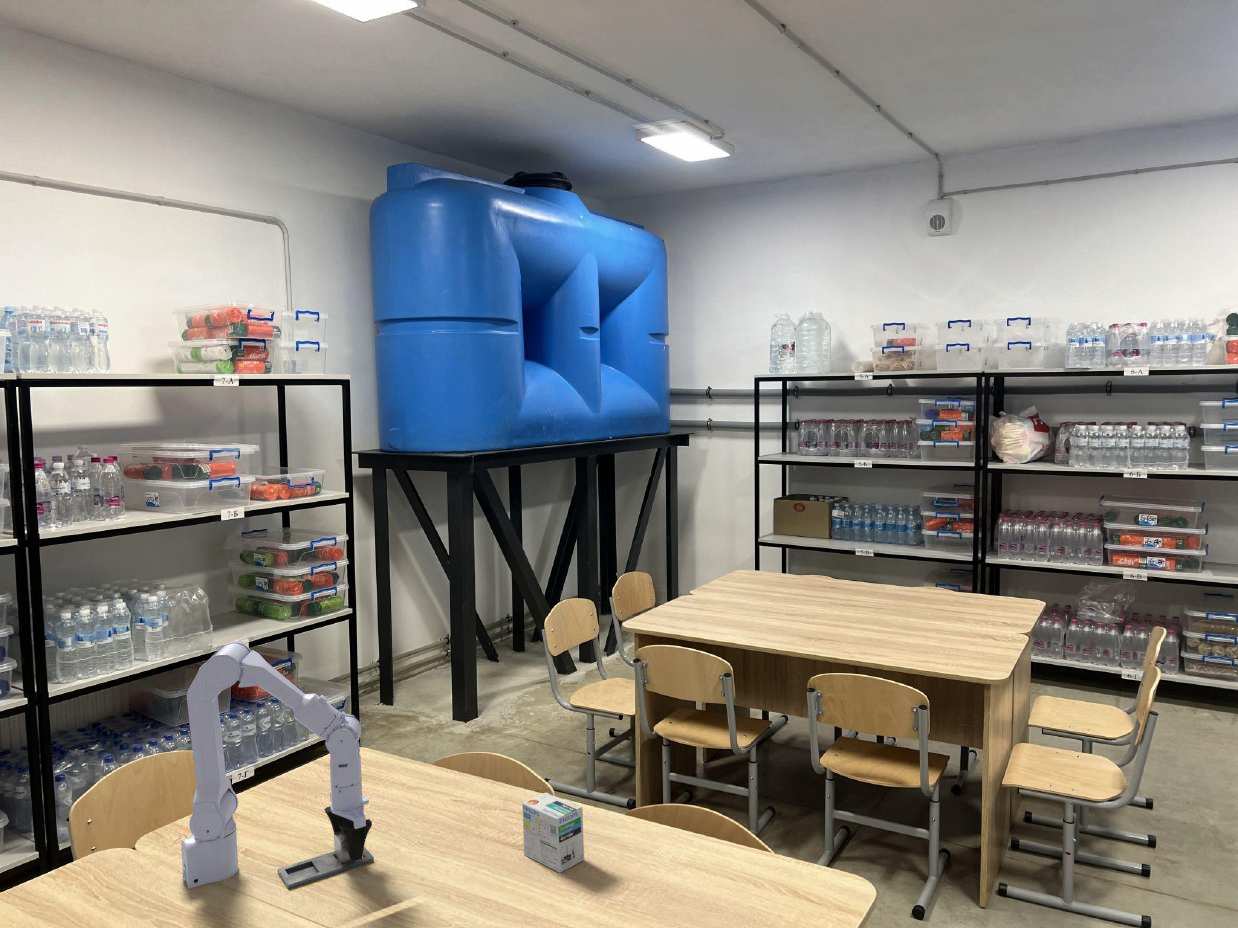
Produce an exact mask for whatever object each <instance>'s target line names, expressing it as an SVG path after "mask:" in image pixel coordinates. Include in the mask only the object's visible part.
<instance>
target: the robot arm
mask: <svg viewBox="0 0 1238 928" xmlns="http://www.w3.org/2000/svg"><path fill="white" fill-rule="evenodd" d="M237 681H238V682H239V684H238V686H237V687H238V688H248V687H249V688H250V687H258V688H260V689H262V690H263V691H265V692H266V693H268V694H269V695H271V696H272V697H274V698H276V699H277V700H279V701H280V702H281V703H283V704H284V705H286V706H288V707H289V708H290V709H292V710H293V717H294V720H296V721H297V723H300V724H301V725H302V726H304V727H305V728H306V729H308V730H309V731H311V732H312V733H313V734H315V735H316V736H317V737H319V738H320V739H321V740H324V741H325V742H324V744H325V747H326V749H327V751H328V752H329V777H330V781H329V782H330V792H329V797H330V799H329V800H330V805H329V806H327V807H325V808H324V810H323V811H324V813H325V814H326V816H327V818H328V819H329V822H330V824H331V828H332V831H333V834H334V833H337V832H340V831H342V832H343V834H344V837H345V839H346V843H347V848H348V853H349V857H350V859H351V860H355V859H358V858H361V857H362V854H363V850H364V847H365V843H366V839H367V836H368V835H369V832H370V830H371V828H372V827H373V821H372V820H370V818H367V819H366V815H365V811H364V810H365V805H368V804H369V803H370V800H369V798H368V797H367V796H363V781H362V780H363V779H362V758H361V753H360V752H361V748H360V742H359V740H360V738H361V735H362V726H361V722H360V721H359V720H358V719H357V718H356V716H355V715H354V714H348V713H346V712H345V711H339V710H338V709H336V707H334V706H333V705H331V704H330V703H328V700H327V699H328V698H327V697H326V696H325V695H323V694H321V695H318V694H317V693H304V692H303V691H302V690H301V689H300V688H298V687H297V686H296V685H295V684H293V683H292V682H291V681H290V680H289V679H288V678H286V677H285V676H284V675H283V674H282V673H280V672H279V671H278V670H277V669H276V668H274V667H273V666H272V665H271V664H270V663H268V662H267V661H266V660H265V658H264V657H263V656H262V655H261V654H260V653H259V652H257V651H255V650H254V649H252V650H251V649H250V648H249V646H248V645H247V644H245V643H243V642H240V641H231V642H228V643H226V644H224V645H223V646H222V647H221V648H219V649H218V650H216V652H214V654H212V655H211V657H210V658H209V659H208V660H207V661H205V662H204V663H203V664H202V665H201V666H200V667H199V669H198V671H197V674H196V676H195V677H194V678H193V680H192V682H191V684H190V686H189V688H188V690H187V691H186V703H187V713H188V721H189V730H190V739H191V748H192V757H193V767H194V773H195V774H194V776H195V785H196V786H195V790H194V791H195V792H194V796H193V799H192V814H191V817H190V818H189V830H190V832H191V834H192V835H191V836H188V837H187V838H184V839H182V840H181V844H180V845H181V864H182V879H183V881H185V883H186V885H187V888H188V889H192V888H196V887H200V886H202V885H203V886H204V885H205V884H206V885H207V884H210V883H211V884H213V883H216V882H221V881H224V880H226V879H229V878H232V876H234V875H235V874H236V873H238V871H239V855H238V853H239V852H238V838H237V836H238V835H237V823H236V821H235V820H234V817H233V816H234V815H233V814H235V813H236V811H237V809H238V806H239V799H238V795H237V794H236V792H235V791H234V789H233V787H232V782H231V779H230V778H229V777H228V776H227V774H226V773H227V772H226V762H225V761H226V760H225V754H224V753H225V752H224V745H223V735H222V727H221V726H222V725H221V724H222V723H221V715H220V707H219V706H220V705H219V695H220V694H221V693H222V691H224V690H226V689H228V688H230V687H232V686H233V685H235V684H236V683H237ZM195 880H196V881H195Z"/></svg>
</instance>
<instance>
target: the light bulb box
mask: <svg viewBox="0 0 1238 928" xmlns="http://www.w3.org/2000/svg"><path fill="white" fill-rule="evenodd" d="M521 803H522V804H521V805H522V826H523V827H522V828H523V829H522V830H523V831H522V832H523V854H524V855H523V856H525V857H528V858H530V859H532V860H534V861H536V862H538V863H539V864H542V865H544V866H546V867H548V868H550V869H551V870H553V871H556V872H558V873H559V874H560V873H563V872H565V871H566V870H568V869H570V868H571V867H574V866H575V865H577V864H579V863H581V862H583V861H585V847H584V846H585V843H584V842H585V841H584V818H583V816H584V814H583V807H582V806H580V805H577V804H575V803H572V802H570V801H568V800H564V799H562V798H561V797H558V796H555V795H553V794H551V793H549V792H544V793H542V794H539V795H537V796H535V797H532V798H530V799H527V800H526V801H523V802H521Z"/></svg>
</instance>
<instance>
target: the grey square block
mask: <svg viewBox="0 0 1238 928" xmlns="http://www.w3.org/2000/svg"><path fill="white" fill-rule="evenodd" d="M333 844H334V845H333V846H334V847H333V848H334V849H333V850H334V851H335V858H336V860H337V861H338V862H339V863H340V865H343V864H346V863H349V862H352V861H355V860H358V859H361V858H362V857H361V858H358V859H355V860H351V859H350V857H349V853H348V848H347V843H346V839H345V837H344V834H343V832H342V831H340V832H337V833H334V832H333Z"/></svg>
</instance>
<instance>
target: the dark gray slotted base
mask: <svg viewBox="0 0 1238 928" xmlns="http://www.w3.org/2000/svg"><path fill="white" fill-rule="evenodd" d="M374 861H375V858H374V856H373V855H372V853H371V852H370V851H369V850H368V849H367V848H366V846H364V850H363V854H362V858H361V859H358V860H355V861H352V862H349V863H346V864H343V865H340V863H339V862H338V861H337V860H336V858H335V850H334V851H330V852H327V853H325V854H322V855H318V856H315V857H312V858H309V859H304V860H301V861H299V862H296V863H293V864H289V865H286V866H282V867H279V868H277V874H278V876H279V877H280V879H281V880H282V882H283V884H284V885H285V887H286V888H287V890H290V889H294V888H297V887H300V886H303V885H307V884H310V883H312V882H316V881H319V880H322V879H324V878H328V877H331V876H334V875H337V874H340V873H343V872H346V871H348V870H352V869H356V868H358V867H361V866H364V865H367V864H371V863H373V862H374Z"/></svg>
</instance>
